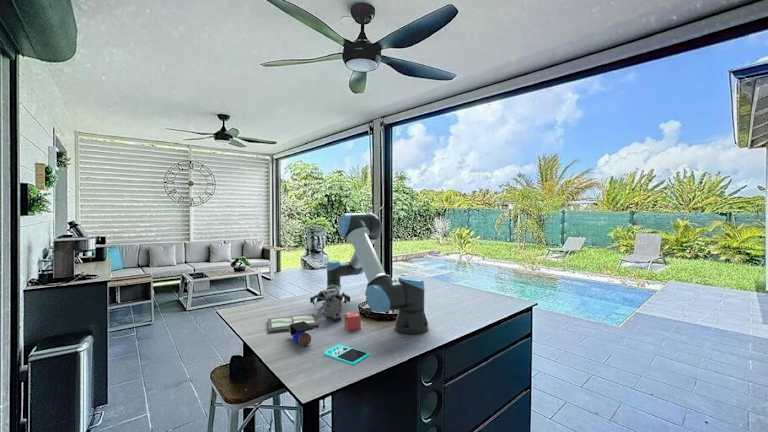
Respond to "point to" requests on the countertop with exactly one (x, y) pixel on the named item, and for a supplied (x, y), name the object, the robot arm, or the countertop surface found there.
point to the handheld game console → (346, 354)
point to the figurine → (331, 304)
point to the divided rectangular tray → (290, 322)
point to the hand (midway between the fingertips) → (328, 304)
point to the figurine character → (300, 332)
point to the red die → (352, 321)
